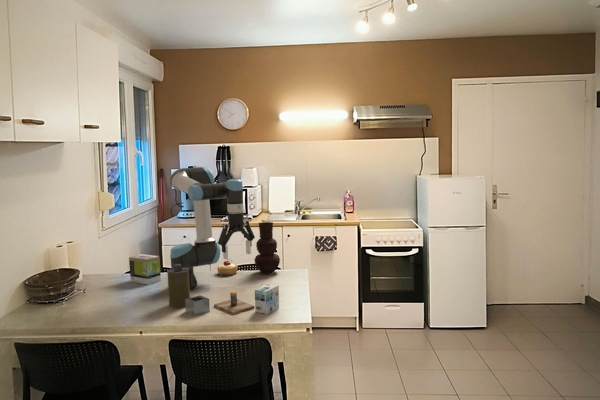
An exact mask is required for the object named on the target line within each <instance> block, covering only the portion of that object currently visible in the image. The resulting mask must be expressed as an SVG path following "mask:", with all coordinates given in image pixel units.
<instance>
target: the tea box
mask: <svg viewBox="0 0 600 400" xmlns="http://www.w3.org/2000/svg"><path fill="white" fill-rule="evenodd" d="M128 262H129V278H130V282H131V283H136V284H142V285H148V286H149V285H151V284H152V285H153V284H155V283H159V282H161V280H162V278H161V261H160V255H153V254H152V255H151V254H145V253H140V254H136V255H132V256H129V257H128Z"/></svg>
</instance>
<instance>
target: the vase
mask: <svg viewBox="0 0 600 400" xmlns="http://www.w3.org/2000/svg"><path fill="white" fill-rule="evenodd" d="M257 225H258V231H259V239H258V240H257V241H256V243H255V245H256V246H255V247H256V250H257V253H258V254H257V255H256V256H255V257H254V258H253V261H254V262H253V263H254V265H255V267H256V268H257V270H258V271H259V272H260V274H262V275H272V274H274V273H275V272H276V270H277V268H278V267H279V265H280V261H281V259H280V256H279V254H276V251H277V248H278V243H277V240H276V239H275V238H273V234H274V233H273V231H274V226H273V225H274V222H273V221H262V222H258V223H257Z"/></svg>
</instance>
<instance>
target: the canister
mask: <svg viewBox="0 0 600 400" xmlns="http://www.w3.org/2000/svg"><path fill="white" fill-rule="evenodd" d="M172 266H173V265H172ZM173 267H174V268H172V269H171V268H169V269H167V271H166V274H167V285H168V286H167V287H168V303H169V304H168V306H169V308H172V309H182V308H183V309H184V308H186V307H185V299H187V298H191V292H190V291H191V290H190V289H191V275H190V268H189V267H188V268H184V267H182V265H181V264H175V265H174V266H173ZM189 277H190V286H189Z"/></svg>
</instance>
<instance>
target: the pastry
mask: <svg viewBox="0 0 600 400" xmlns="http://www.w3.org/2000/svg"><path fill="white" fill-rule="evenodd" d="M230 261H231V262H230ZM216 269H217V273H218V274H219V275H220V276H234V275H235V274H237V273H238V269H239V267H238V265H237V264H236V263H233V260H232V259H230V258H228V259H226V260H225V261H223V263H222V264H219V265H218V266H217V267H216Z"/></svg>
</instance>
